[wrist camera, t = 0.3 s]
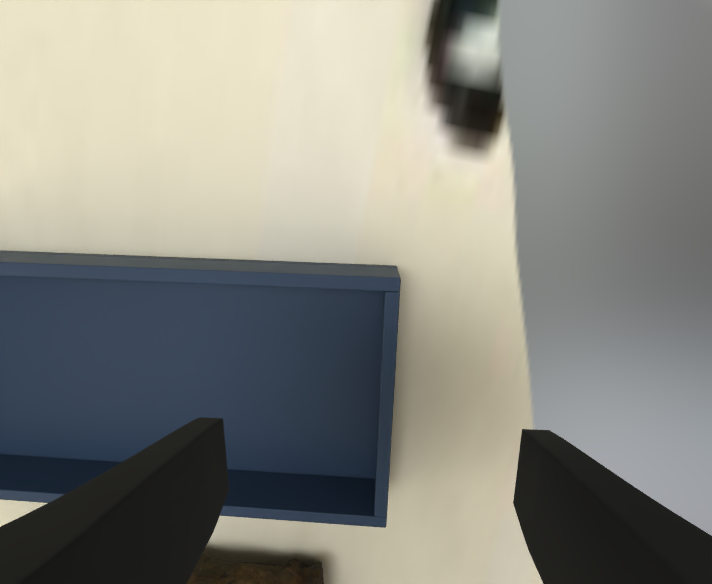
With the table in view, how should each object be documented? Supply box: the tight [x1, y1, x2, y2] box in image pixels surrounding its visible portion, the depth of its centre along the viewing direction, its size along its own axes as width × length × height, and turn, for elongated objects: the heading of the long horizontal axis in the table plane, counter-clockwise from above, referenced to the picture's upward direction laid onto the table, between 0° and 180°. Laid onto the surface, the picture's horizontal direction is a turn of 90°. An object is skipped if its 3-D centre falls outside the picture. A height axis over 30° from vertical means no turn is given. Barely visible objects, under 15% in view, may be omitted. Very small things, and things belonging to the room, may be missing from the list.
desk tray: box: [0, 251, 401, 527], centre depth 18 cm, size 12×25×3 cm, turn 88°
